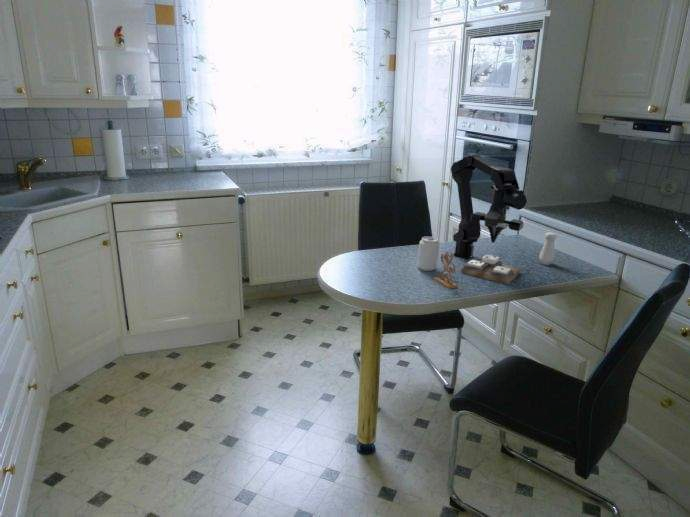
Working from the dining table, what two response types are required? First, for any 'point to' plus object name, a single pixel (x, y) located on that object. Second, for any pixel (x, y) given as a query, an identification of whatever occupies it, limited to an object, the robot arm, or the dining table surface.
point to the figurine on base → (441, 278)
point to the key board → (491, 271)
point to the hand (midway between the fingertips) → (493, 242)
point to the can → (428, 253)
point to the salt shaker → (548, 249)
